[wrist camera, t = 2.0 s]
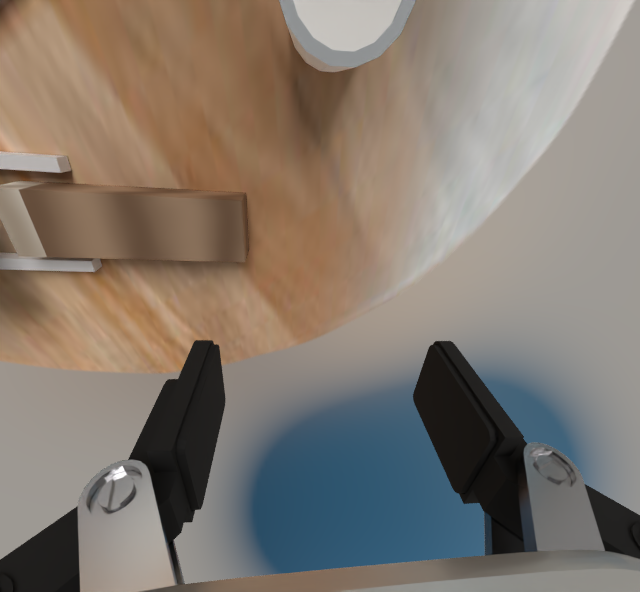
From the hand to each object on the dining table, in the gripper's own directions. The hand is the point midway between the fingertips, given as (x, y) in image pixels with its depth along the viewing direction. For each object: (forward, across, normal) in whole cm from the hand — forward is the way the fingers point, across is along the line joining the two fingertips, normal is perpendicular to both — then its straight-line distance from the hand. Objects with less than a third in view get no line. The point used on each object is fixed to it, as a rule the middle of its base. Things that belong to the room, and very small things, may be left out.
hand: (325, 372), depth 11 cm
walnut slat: (+18, +13, 0) cm, 23 cm away
